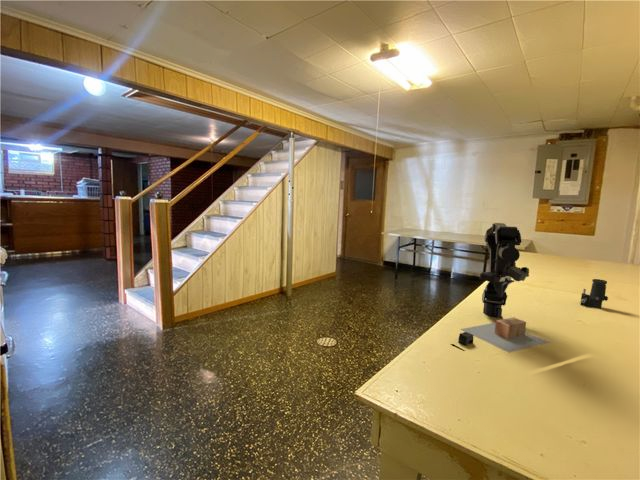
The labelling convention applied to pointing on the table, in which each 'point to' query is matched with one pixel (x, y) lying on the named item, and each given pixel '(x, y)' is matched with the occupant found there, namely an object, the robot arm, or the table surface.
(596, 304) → the scope
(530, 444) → the table surface
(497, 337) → the slate mat
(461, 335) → the black mounting bracket
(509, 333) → the walnut post
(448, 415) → the table surface
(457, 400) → the table surface
